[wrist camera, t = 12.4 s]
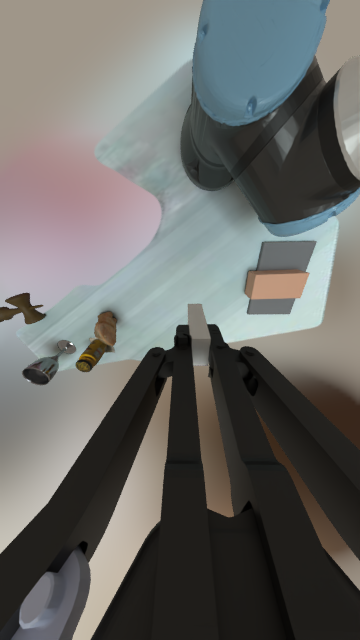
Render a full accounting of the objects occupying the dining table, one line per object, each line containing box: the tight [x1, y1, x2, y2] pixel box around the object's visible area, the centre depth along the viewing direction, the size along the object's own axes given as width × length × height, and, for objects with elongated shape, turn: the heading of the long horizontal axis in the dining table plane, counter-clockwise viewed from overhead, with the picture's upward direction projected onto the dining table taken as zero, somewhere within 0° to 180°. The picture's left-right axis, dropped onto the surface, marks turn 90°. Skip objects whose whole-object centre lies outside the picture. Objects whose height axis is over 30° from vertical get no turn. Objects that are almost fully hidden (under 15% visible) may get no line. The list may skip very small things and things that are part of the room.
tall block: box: [245, 269, 309, 299], centre depth 44 cm, size 7×5×14 cm
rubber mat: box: [247, 241, 317, 314], centre depth 47 cm, size 22×14×1 cm, turn 1°
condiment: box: [76, 338, 115, 372], centre depth 56 cm, size 7×8×12 cm
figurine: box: [94, 312, 117, 346], centre depth 49 cm, size 8×8×15 cm
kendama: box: [0, 293, 45, 324], centre depth 51 cm, size 6×10×20 cm
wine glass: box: [22, 340, 76, 385], centre depth 55 cm, size 8×8×15 cm
